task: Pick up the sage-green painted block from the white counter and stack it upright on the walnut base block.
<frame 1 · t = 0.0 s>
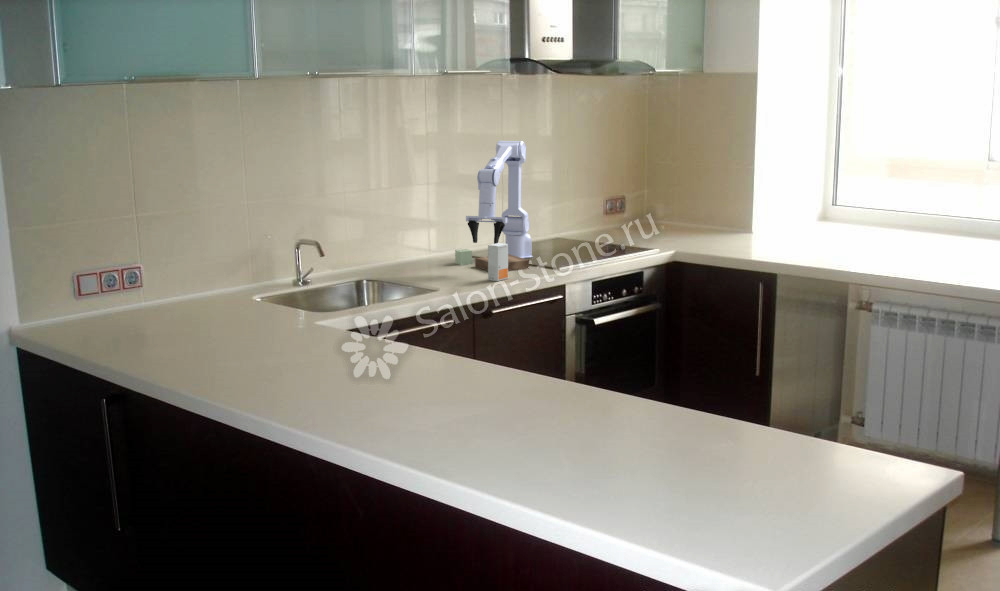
hand: (485, 243, 344), 11 cm above the worktop, tool pointing down, fingers open, 7 cm apart
sage block: (463, 263, 364), on the worktop
skincare box: (498, 280, 335), on the worktop
walnut base: (502, 267, 356), on the worktop
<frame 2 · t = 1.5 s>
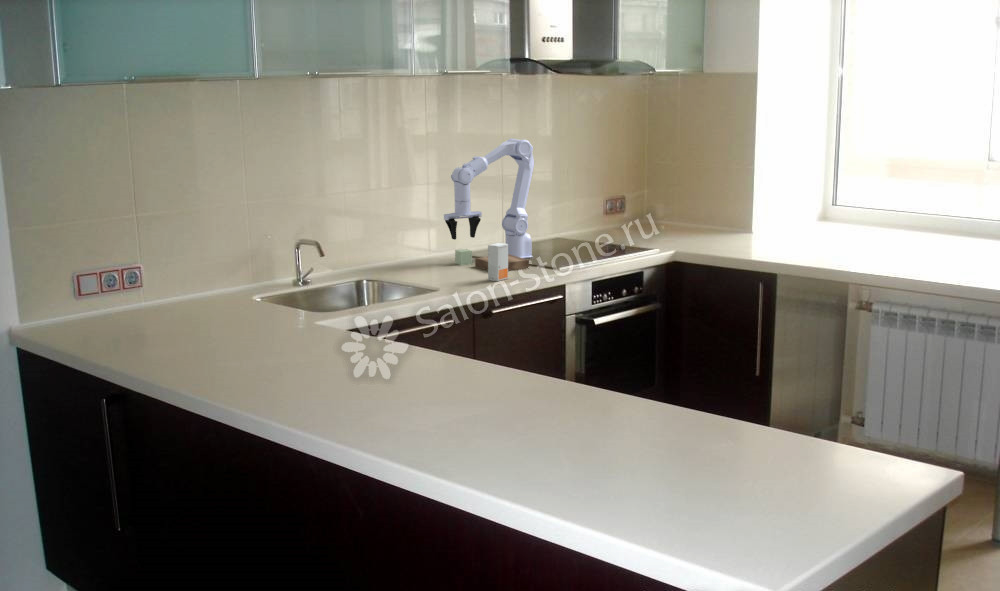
hand: (463, 238, 362), 9 cm above the worktop, tool pointing down, fingers open, 7 cm apart
nothing on the worktop moved.
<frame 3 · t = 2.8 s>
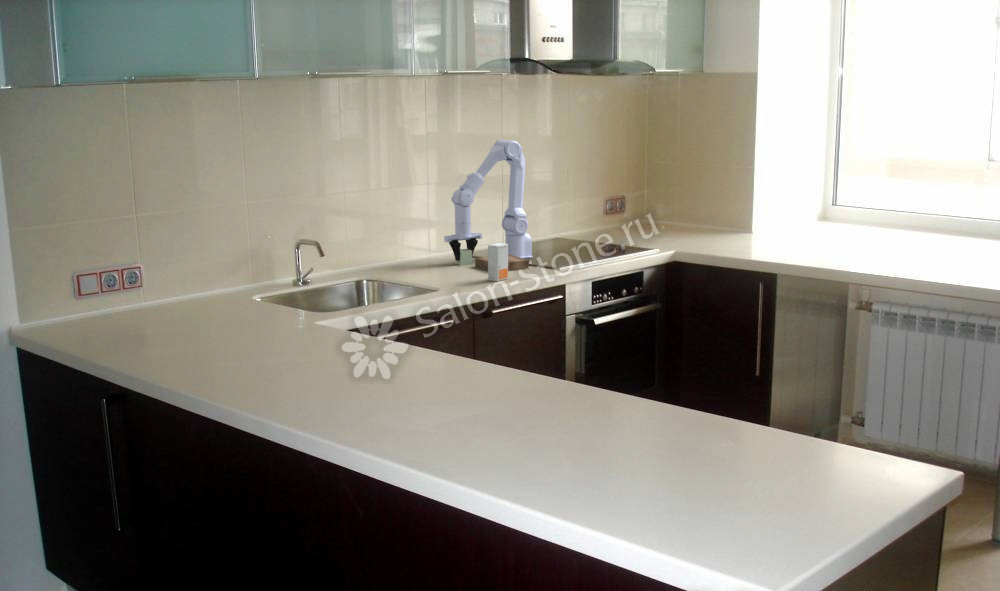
hand: (463, 259, 364), 1 cm above the worktop, tool pointing down, fingers closed on sage block, 4 cm apart
sage block: (463, 263, 364), on the worktop, touching gripper
everything else where it was.
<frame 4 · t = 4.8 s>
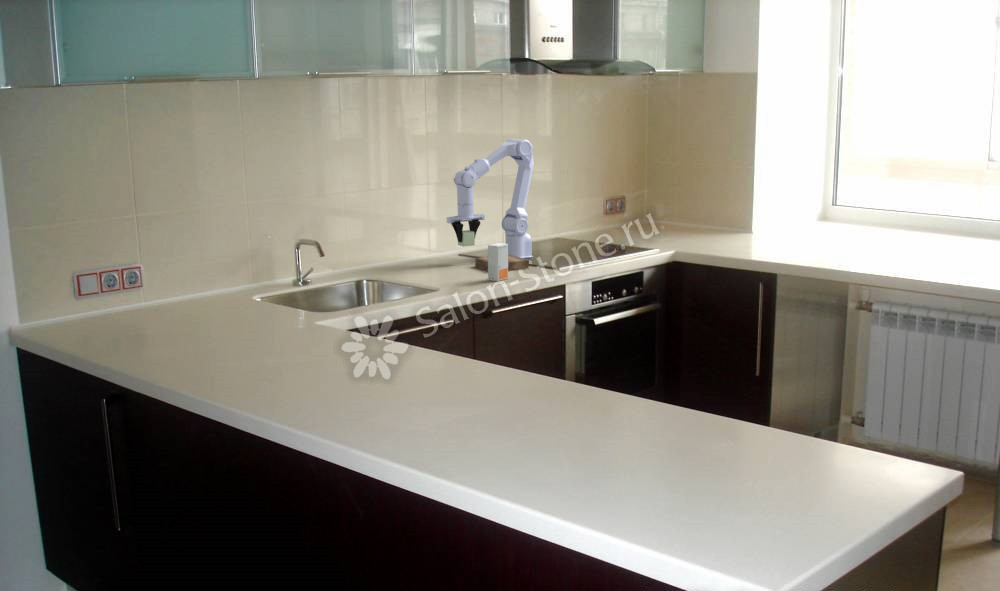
hand: (466, 241, 362), 8 cm above the worktop, tool pointing down, fingers closed on sage block, 4 cm apart
sage block: (466, 245, 362), point 7 cm above the worktop, touching gripper
everything else where it was.
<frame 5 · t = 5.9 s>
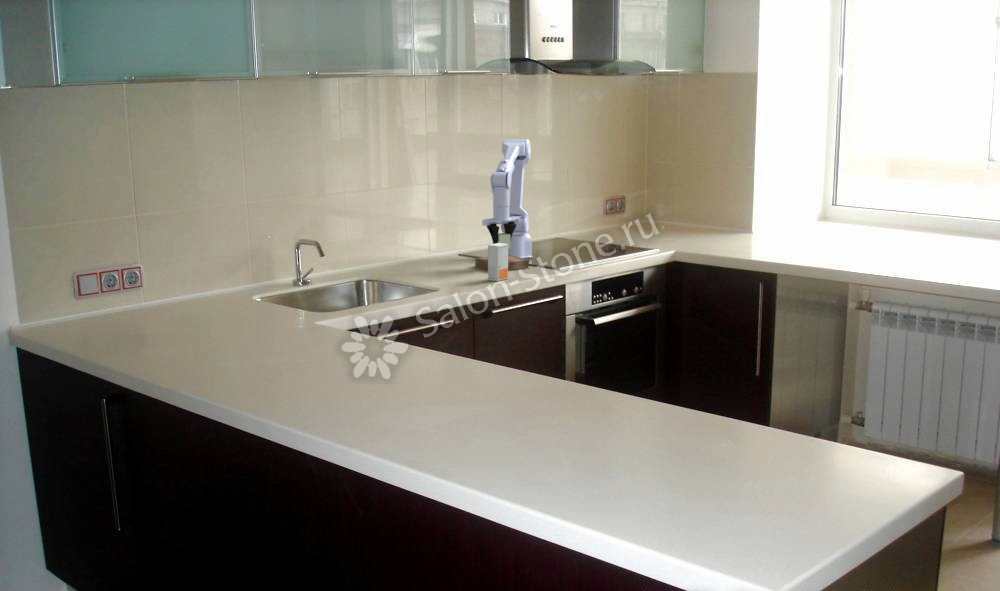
hand: (501, 244, 354), 8 cm above the worktop, tool pointing down, fingers closed on sage block, 4 cm apart
sage block: (501, 248, 355), point 7 cm above the worktop, touching gripper
everything else where it was.
when the fingers open (6 cm above the worktop, at t = 6.8 s): sage block drops 1 cm, resting on walnut base.
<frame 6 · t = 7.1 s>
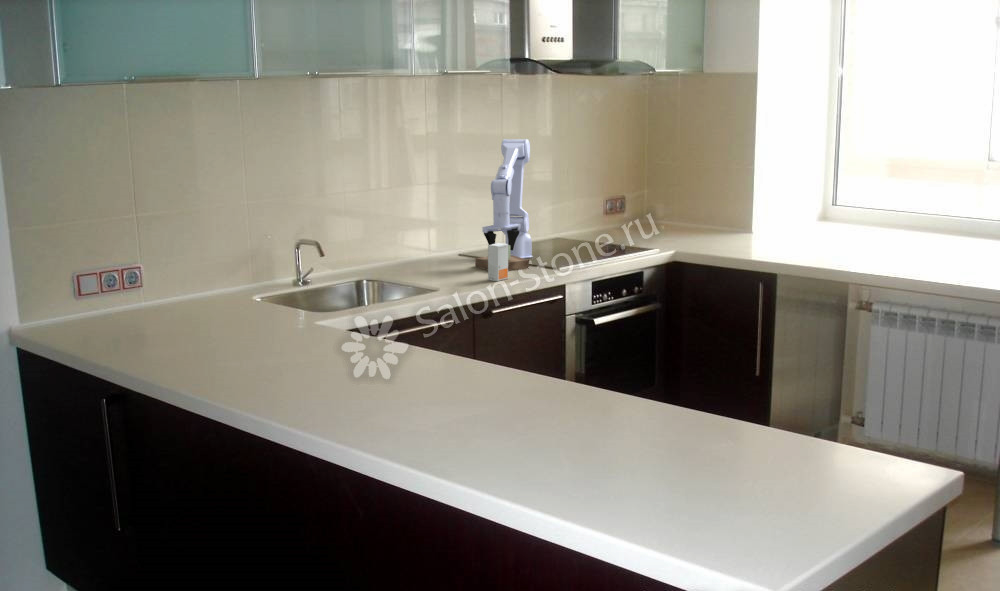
hand: (501, 251, 355), 6 cm above the worktop, tool pointing down, fingers open, 7 cm apart
sage block: (501, 259, 356), point 3 cm above the worktop, touching walnut base
everything else where it was.
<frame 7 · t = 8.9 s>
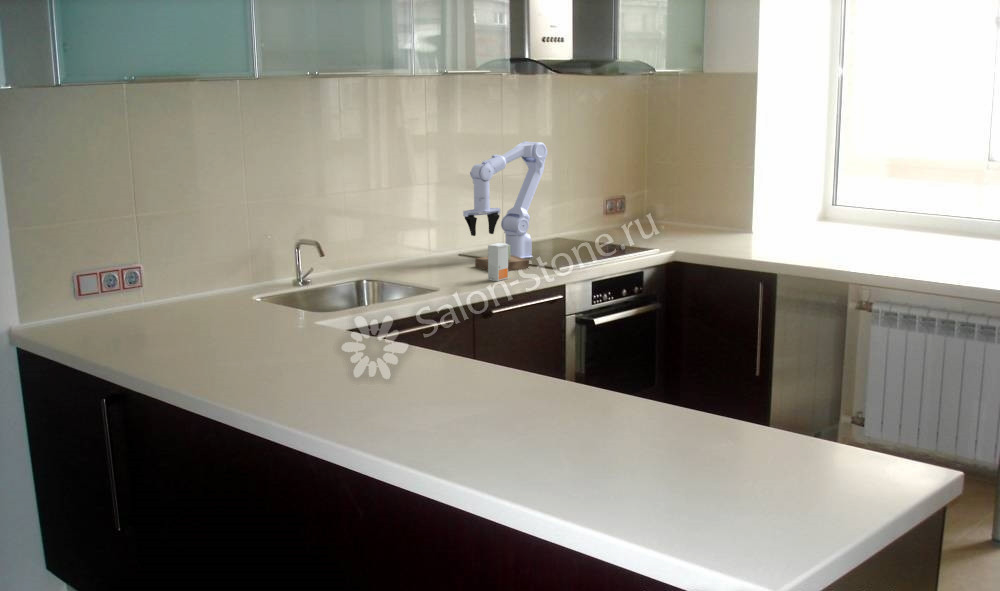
hand: (482, 234, 363), 10 cm above the worktop, tool pointing down, fingers open, 7 cm apart
nothing on the worktop moved.
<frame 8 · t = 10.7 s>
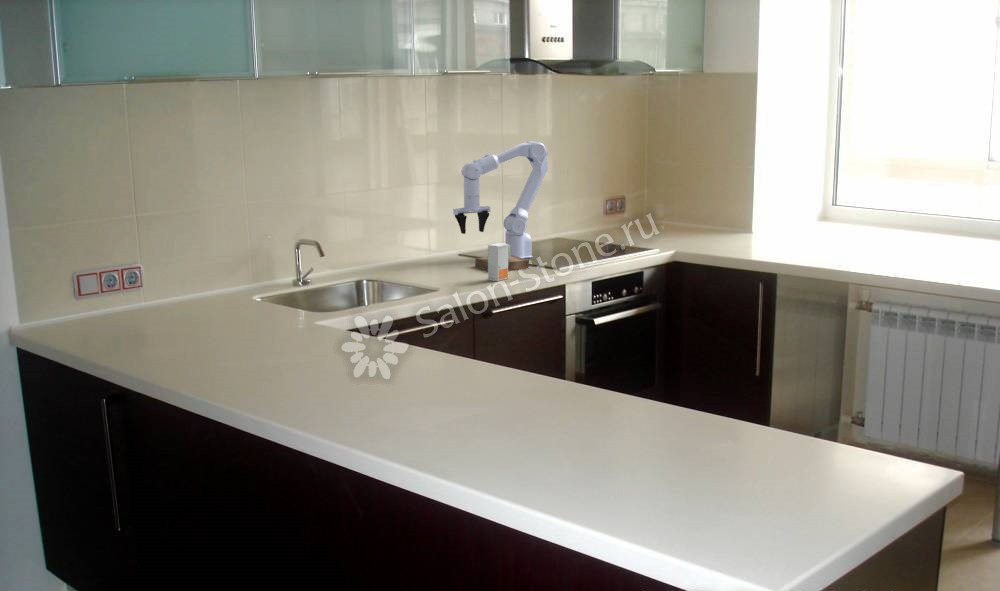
hand: (472, 232, 368), 10 cm above the worktop, tool pointing down, fingers open, 7 cm apart
nothing on the worktop moved.
at the end: sage block inside the target area on the walnut base (0.0 cm from its centre), point 3.0 cm above the walnut base's base; sage block tilted 0°; the gripper is holding nothing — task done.
